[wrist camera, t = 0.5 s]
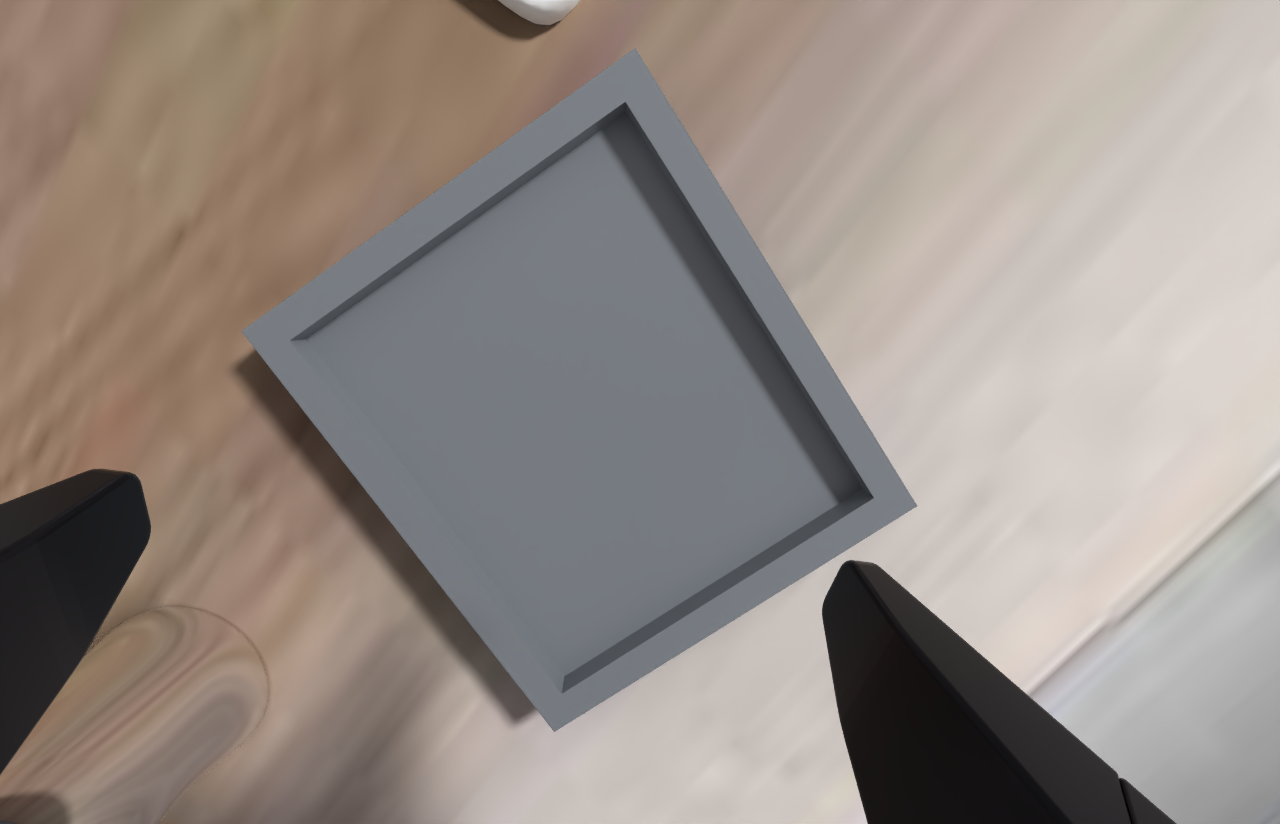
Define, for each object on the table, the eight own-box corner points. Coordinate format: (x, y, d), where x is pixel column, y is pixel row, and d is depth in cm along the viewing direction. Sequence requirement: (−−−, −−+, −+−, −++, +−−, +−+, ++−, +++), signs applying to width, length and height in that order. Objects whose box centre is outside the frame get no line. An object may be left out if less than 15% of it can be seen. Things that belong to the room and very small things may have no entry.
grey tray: (889, 486, 22) (917, 505, 20) (561, 691, 23) (554, 731, 21) (634, 75, 20) (635, 48, 18) (281, 327, 21) (241, 331, 19)
